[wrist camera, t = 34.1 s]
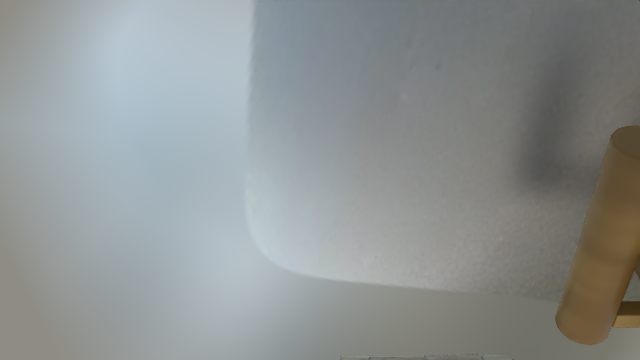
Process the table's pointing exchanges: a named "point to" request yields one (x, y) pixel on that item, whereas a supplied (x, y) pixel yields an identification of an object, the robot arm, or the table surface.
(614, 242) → the drawer
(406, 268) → the table surface
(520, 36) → the table surface
